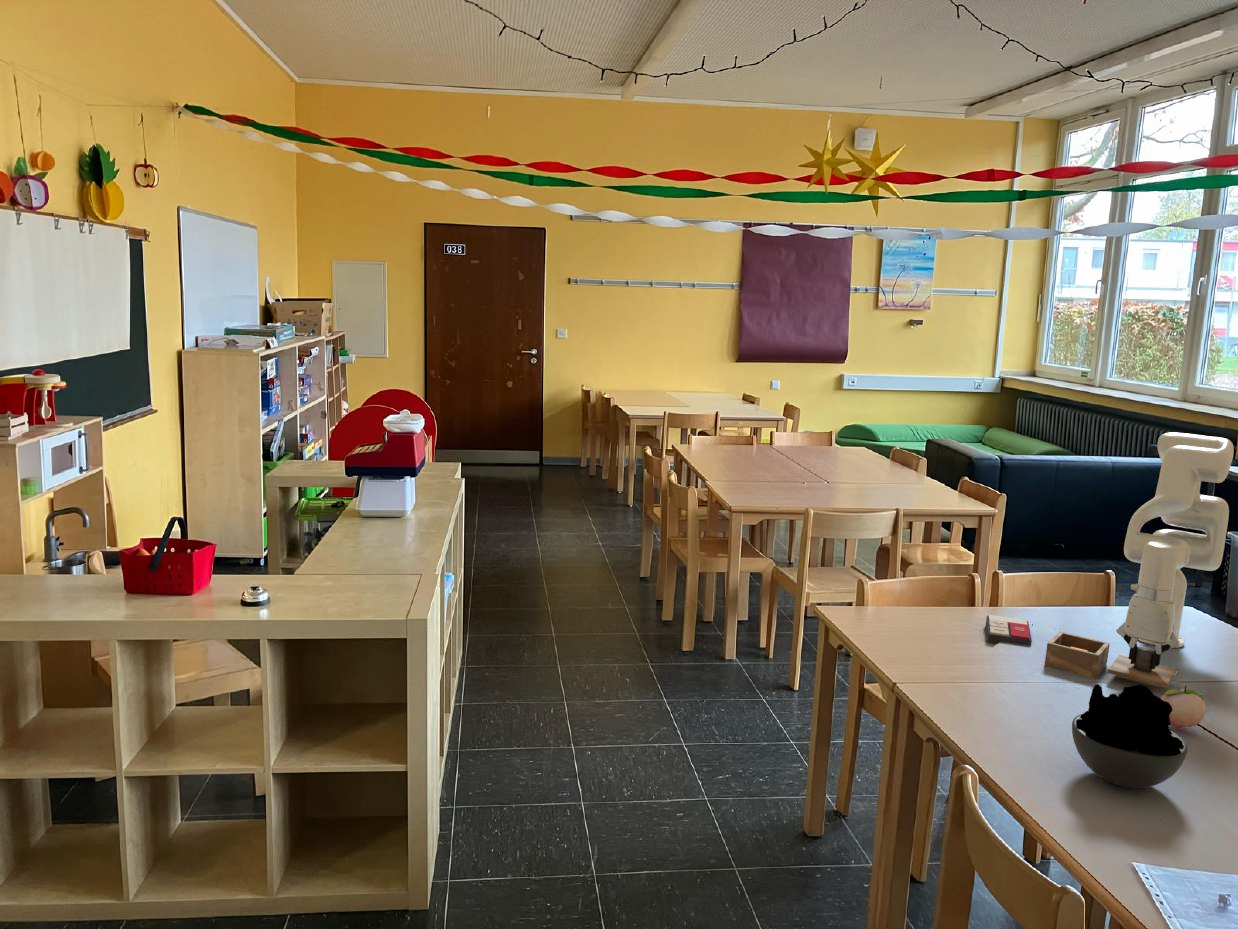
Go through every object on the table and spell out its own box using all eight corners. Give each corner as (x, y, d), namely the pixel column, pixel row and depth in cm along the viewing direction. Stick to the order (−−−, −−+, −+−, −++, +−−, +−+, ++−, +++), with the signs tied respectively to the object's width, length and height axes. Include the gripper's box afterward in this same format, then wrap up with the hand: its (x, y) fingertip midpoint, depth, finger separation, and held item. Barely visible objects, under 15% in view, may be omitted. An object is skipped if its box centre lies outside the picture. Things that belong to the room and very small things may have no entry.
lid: (1118, 662, 253) (1122, 636, 252) (1175, 676, 245) (1180, 649, 244) (1106, 676, 243) (1110, 649, 242) (1166, 692, 235) (1170, 663, 234)
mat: (1113, 669, 255) (1114, 665, 255) (1179, 686, 246) (1180, 682, 246) (1100, 686, 243) (1100, 682, 243) (1168, 704, 234) (1169, 700, 234)
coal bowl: (1191, 783, 195) (1206, 692, 192) (1164, 820, 180) (1180, 722, 177) (1084, 748, 208) (1096, 662, 205) (1051, 780, 193) (1063, 688, 190)
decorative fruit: (1177, 739, 215) (1184, 695, 213) (1148, 723, 223) (1154, 680, 221) (1212, 736, 218) (1219, 693, 216) (1182, 720, 225) (1189, 678, 224)
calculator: (988, 631, 269) (987, 612, 283) (986, 646, 270) (985, 626, 284) (1032, 638, 266) (1028, 618, 280) (1030, 653, 267) (1026, 632, 281)
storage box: (1056, 657, 262) (1059, 631, 260) (1105, 669, 255) (1109, 643, 253) (1043, 669, 252) (1047, 643, 251) (1094, 682, 245) (1098, 655, 244)
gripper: (1113, 588, 242) (1102, 660, 246) (1191, 604, 232) (1179, 679, 236) (1119, 582, 248) (1109, 652, 252) (1196, 597, 238) (1184, 670, 242)
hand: (1143, 664), depth 244 cm, fingers closed on lid, 3 cm apart
